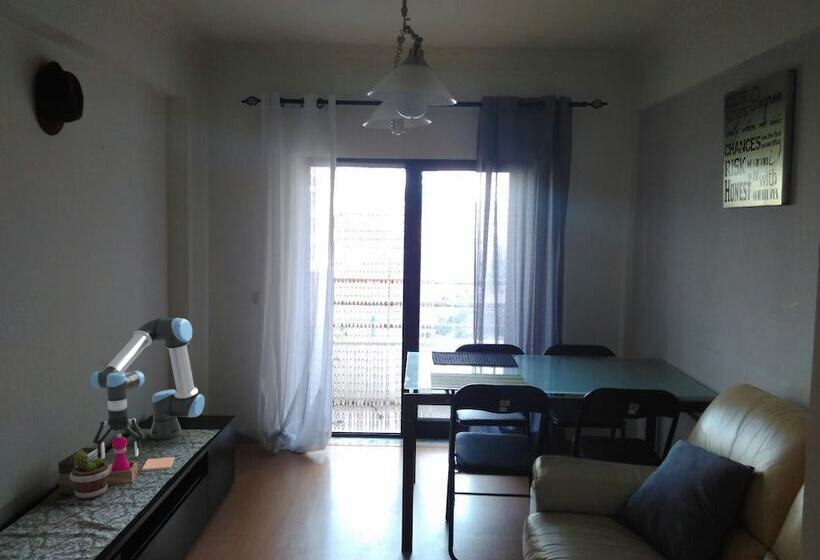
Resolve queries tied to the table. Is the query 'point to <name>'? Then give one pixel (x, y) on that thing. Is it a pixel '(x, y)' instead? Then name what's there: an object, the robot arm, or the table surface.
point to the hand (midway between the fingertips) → (120, 456)
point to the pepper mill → (120, 454)
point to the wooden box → (122, 474)
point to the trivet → (158, 463)
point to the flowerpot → (89, 476)
